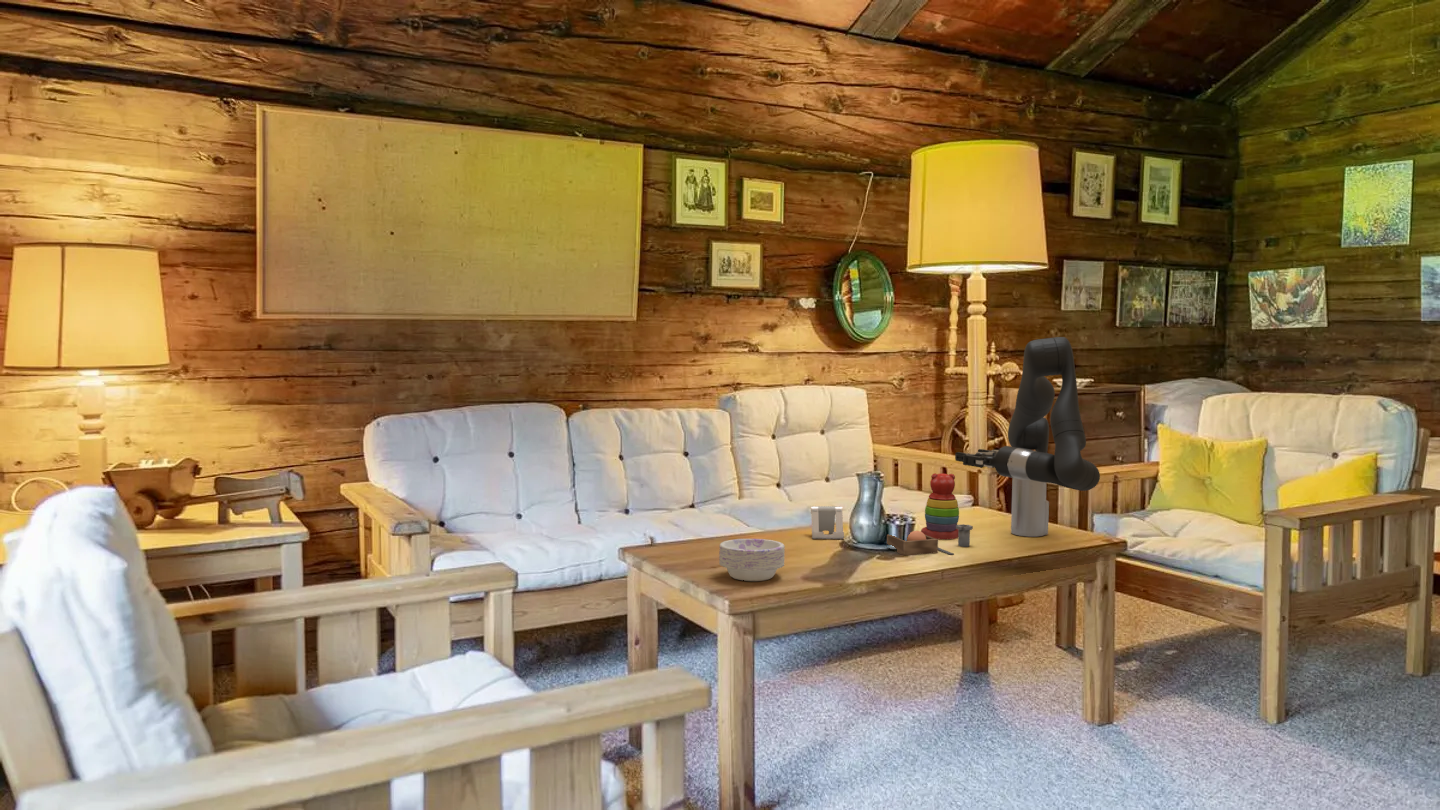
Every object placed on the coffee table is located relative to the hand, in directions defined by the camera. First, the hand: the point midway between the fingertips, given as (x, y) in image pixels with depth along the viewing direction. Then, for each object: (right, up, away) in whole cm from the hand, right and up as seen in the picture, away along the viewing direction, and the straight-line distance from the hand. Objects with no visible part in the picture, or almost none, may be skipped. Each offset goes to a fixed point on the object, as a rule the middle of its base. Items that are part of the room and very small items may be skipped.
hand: (967, 454), depth 260 cm
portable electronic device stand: (-34, -24, +23) cm, 47 cm away
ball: (-12, -23, +4) cm, 26 cm away
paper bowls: (-56, -28, -23) cm, 67 cm away
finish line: (-6, -25, +8) cm, 27 cm away
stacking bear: (-1, -24, +24) cm, 34 cm away
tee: (+2, -25, +12) cm, 28 cm away
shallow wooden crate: (-13, -25, +6) cm, 29 cm away
